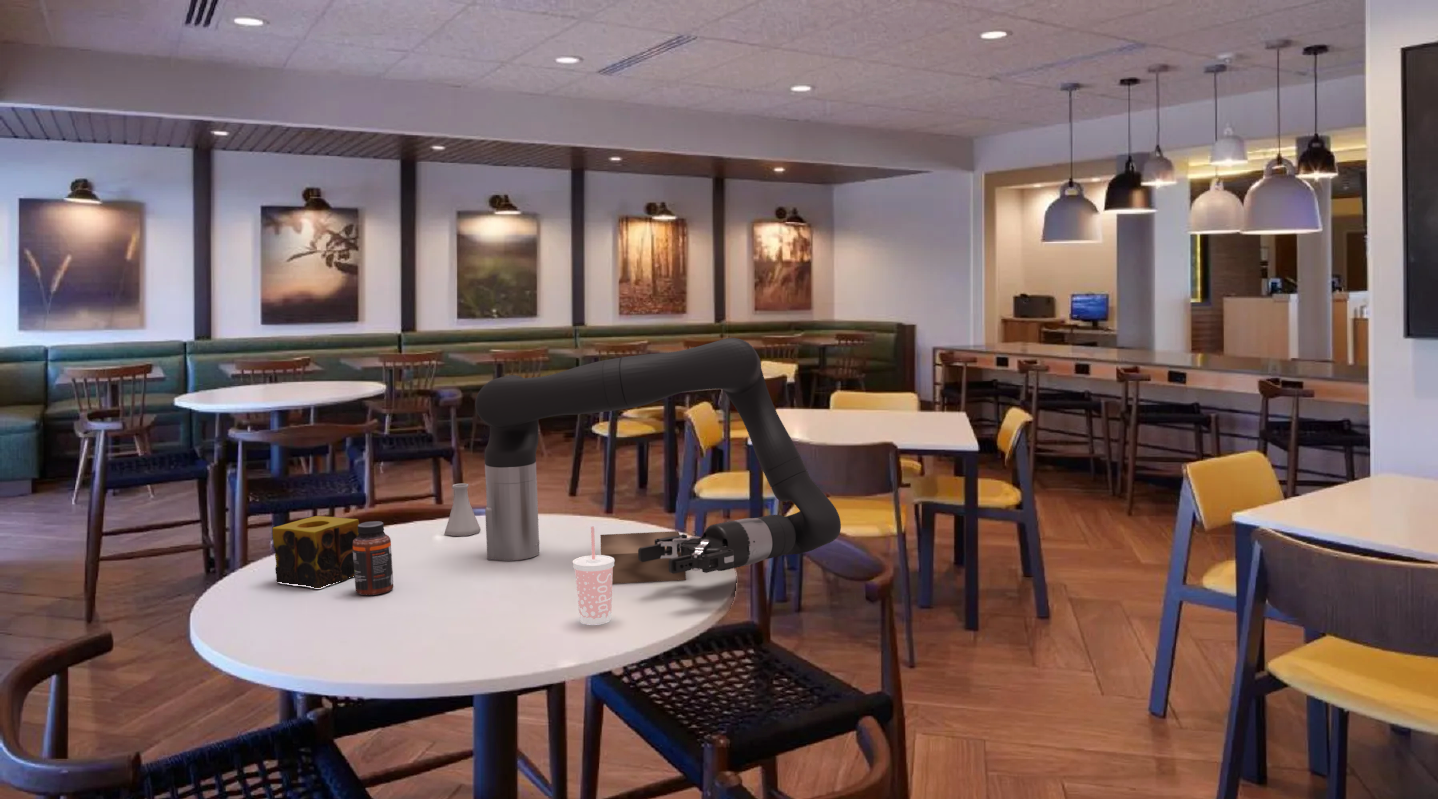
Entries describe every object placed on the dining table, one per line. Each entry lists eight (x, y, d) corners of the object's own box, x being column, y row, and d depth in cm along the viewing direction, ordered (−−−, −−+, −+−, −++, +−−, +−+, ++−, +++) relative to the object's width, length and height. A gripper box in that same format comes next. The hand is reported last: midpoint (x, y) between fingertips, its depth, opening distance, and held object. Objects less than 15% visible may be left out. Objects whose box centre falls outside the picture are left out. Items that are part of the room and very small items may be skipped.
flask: (471, 537, 198) (469, 488, 197) (437, 536, 199) (435, 487, 198) (486, 529, 205) (484, 481, 204) (454, 528, 206) (452, 481, 205)
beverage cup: (581, 629, 142) (577, 533, 141) (569, 616, 148) (566, 524, 146) (621, 622, 144) (619, 528, 143) (609, 610, 150) (606, 520, 149)
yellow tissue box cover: (364, 575, 172) (361, 519, 171) (318, 591, 163) (315, 532, 162) (321, 569, 177) (318, 514, 176) (274, 584, 168) (270, 526, 167)
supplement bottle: (401, 587, 164) (397, 520, 163) (378, 598, 159) (374, 528, 158) (371, 584, 166) (367, 518, 165) (347, 595, 161) (343, 526, 159)
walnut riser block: (601, 584, 164) (600, 554, 163) (601, 562, 178) (600, 534, 177) (685, 579, 166) (685, 550, 165) (679, 558, 179) (678, 531, 179)
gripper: (711, 513, 167) (628, 528, 157) (765, 528, 155) (680, 545, 146) (711, 557, 167) (630, 574, 158) (765, 575, 156) (681, 595, 146)
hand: (654, 560), depth 152 cm, fingers open, 8 cm apart
